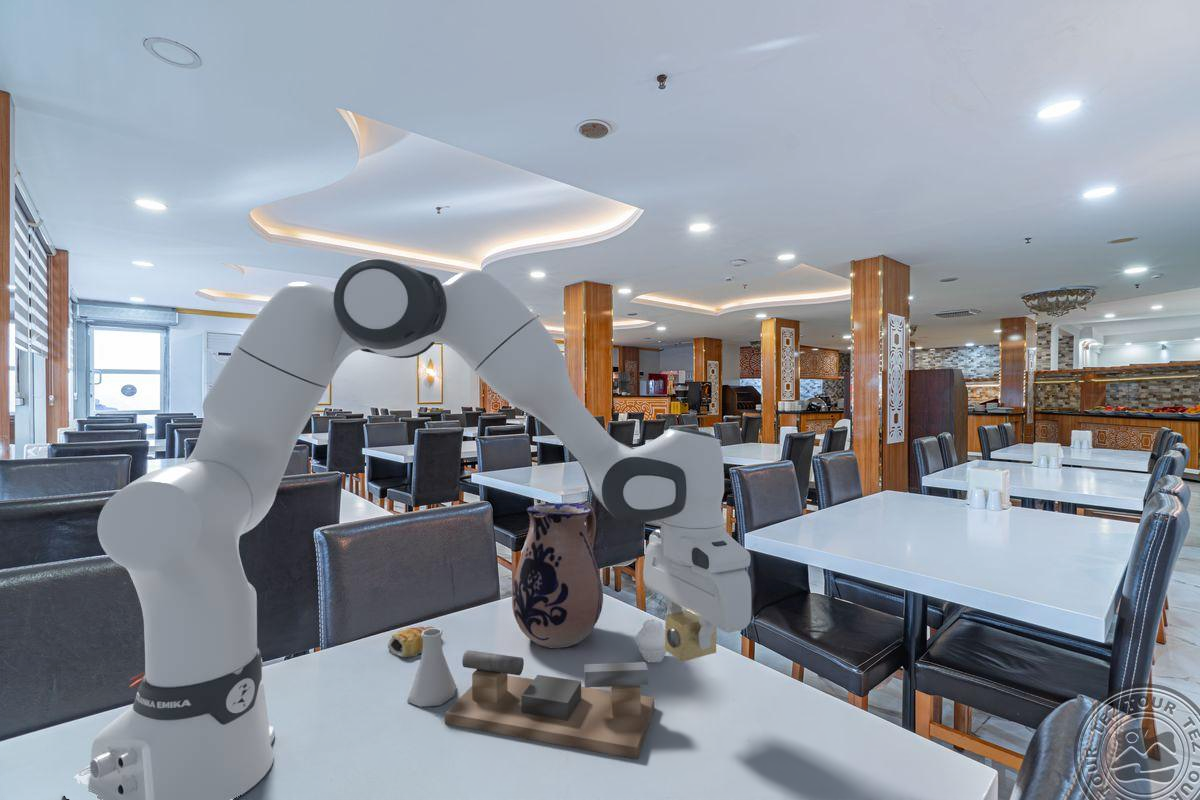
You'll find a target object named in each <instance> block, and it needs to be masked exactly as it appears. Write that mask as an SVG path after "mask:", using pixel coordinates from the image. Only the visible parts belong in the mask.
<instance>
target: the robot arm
mask: <svg viewBox="0 0 1200 800" xmlns="http://www.w3.org/2000/svg"><path fill="white" fill-rule="evenodd" d="M435 343H439V344H443V345H446V346H448V347H449V348H451V349H452V350H453V351H455V352H456V353H457V354H458V355H459V356H460V357H461V358H462V359H463V361H464V362H465V363H467V365H468V366H469V367H470V368H471V369H472V370H473V372H474V373H475V374H476V375H477V376H478V377H479V378H480V380H482V381H483V383H485V384H486V386H488V388H490V389H491V390H492V391H494V392H495V393H496V394H497V395H498V396H500V397H501V398H502V399H504V400H505V401H506V402H507V403H509V404H510V405H512V406H513V407H515V408H516V409H519V410H521V411H522V412H525V413H527V414H529V415H531V416H532V417H534V418H535V419H537V420H539V421H540V422H541V423H542V424H543V425H544V426H545V427H547V429H549V430H550V432H552V433H553V434H554V435H555V436H556V438H557V439H558V440H559V441H560V442H561V443H562V444H563V445H564V446H565V448H566V449H567V450H568V451H569V452H570V454H572V456H573V457H574V458H575V459H576V460H577V462H578V463H579V465H580V466H581V467H582V470H583V473H584V477H585V480H586V483H587V486H588V488H589V491H590V492H591V494H592V496H593V498H595V499H596V500H597V501H598V502H599V503H600V504H601V505H602V506H603V507H604V508H605V509H606V510H607V512H609V514H611V516H613V517H614V518H615V519H617V520H619V521H621V522H623V523H627V524H641V523H649V522H654V521H659V520H660V528H656V529H654V531H652V532H651V534H650V535H649V537H648V544H647V545H646V549H645V554H644V560H643V561H644V562H643V572H642V573H643V574H642V577H643V578H642V579H643V582H644V586H645V587H646V588H647V589H648V590H650V591H651V592H654V593H655V594H657V595H659V596H660V597H662V598H664V599H665V601H666V603H665V605H666V608H667V611H668V614H672V613H677V612H682V611H683V609H684V610H685V611H686V610H687V611H689V612H691V613H693V614H694V615H696V616H698V617H699V623H700V624H701V625H702V627H701V630H700V632H697V633H695V644H696V645H697V646H699V647H700V648H702V649H706V648H709V647H710V646H711V635H712V634H713V632H714V630H715V629H716V627H717V629H719V630H721V631H723V632H724V633H728V634H730V633H734V632H738V631H742V630H745V629H746V628H747V627H748V626H749V624H750V623H751V619H752V586H751V585H752V584H751V579H750V576H749V573H748V572H747V571H746V569H745V568H748V567H750V565H751V553H750V551H749V550H747V549H746V548H745V547H744V546H743V545H741V543H739V542H737V541H736V540H735V539H734V538H733V537H732V536H731V535H730V533H728V532H727V531H726V530H724V526H725V525H724V524H725V523H724V521H725V520H724V515H723V513H722V501H723V498H724V494H725V472H724V471H725V467H724V458H723V457H724V455H723V452H722V451H723V450H722V445H721V443H720V440H719V439H718V438H717V437H716V436H715V435H713V434H712V433H709V432H706V431H700V430H695V429H689V428H686V427H685V428H684V427H679V426H678V427H677V426H673V427H670V428H668V429H667V430H666V431H664V433H662V434H661V435H660V436H657V438H654V439H653V440H651V441H649V442H647V443H645V444H643V445H641V446H638V447H635V448H634V447H632V446H630V445H628V444H626V443H622V442H620V441H618V440H617V439H615V438H614V437H612V436H611V435H610V434H609V433H608V432H607V431H606V429H605V428H604V427H603V426H602V425H601V423H600V422H598V420H597V419H596V417H595V416H594V415H592V413H591V412H590V411H589V410H588V409H587V408H586V406H585V405H584V404H583V402H582V401H581V400H580V398H579V397H578V395H577V394H576V392H575V390H574V388H573V384H572V382H571V379H570V375H569V370H568V369H569V368H568V364H567V360H566V358H565V356H564V354H563V352H562V351H561V348H560V347H559V345H558V344H557V342H556V341H555V339H554V338H553V336H552V335H551V333H550V332H549V331H548V329H547V328H546V327H545V326H544V324H543V323H542V322H541V321H540V320H539V319H538V318H537V317H536V315H535V314H534V313H533V312H532V311H531V310H530V308H529V307H527V305H525V303H523V301H521V299H520V298H518V296H516V295H515V294H514V293H513V292H512V291H511V290H509V288H507V287H506V286H505V285H503V284H502V283H501V282H500V281H498V280H497V279H495V278H494V277H493V276H492V275H490V274H489V273H487V272H486V271H483V270H479V269H470V270H466V271H465V270H464V271H462V272H459V273H458V274H456V275H454V276H452V277H450V278H449V279H448V280H447V281H446V282H444V283H441V281H440V279H439V278H438V277H436V276H435V275H433V274H430V273H428V272H425V271H422V270H419V269H416V268H414V267H411V266H409V265H406V264H404V263H400V262H397V261H393V260H390V259H384V258H372V259H370V258H369V259H365V260H362V261H359V262H356V263H355V264H353V265H351V266H350V267H347V269H346V270H345V271H344V272H343V273H342V274H341V276H339V278H338V280H337V282H336V284H335V288H334V291H333V290H331V289H329V288H327V287H325V286H322V285H319V284H317V283H313V282H307V281H294V282H290V283H287V284H285V285H284V286H282V287H281V288H279V290H278V291H277V292H276V293H275V294H274V295H273V296H272V297H271V298H270V299H269V300H268V301H267V303H265V305H264V306H263V307H262V308H261V309H260V310H259V312H258V313H257V314H256V316H255V317H254V319H252V321H251V323H250V324H249V325H248V326H247V328H246V330H245V331H244V332H243V333H242V335H241V337H240V339H239V340H238V342H237V343H236V346H235V347H234V348H233V350H232V352H231V353H230V355H229V357H228V359H227V360H226V361H225V364H224V365H223V367H222V369H221V370H220V371H219V374H218V375H217V376H216V379H215V380H214V382H213V384H211V385H212V386H211V387H210V388H209V390H208V392H207V394H206V395H205V397H204V399H203V401H202V407H201V408H202V412H203V419H202V425H201V428H200V432H199V435H198V438H197V441H196V443H195V447H194V448H193V451H192V452H191V453H190V455H189V456H188V457H187V458H186V460H185V461H183V462H182V463H181V464H178V465H177V464H176V465H173V466H169V467H163V468H159V469H156V470H153V471H150V472H148V473H146V474H144V475H142V476H140V477H138V478H137V479H135V480H133V481H132V482H130V483H129V484H127V485H126V486H124V487H123V488H122V489H119V490H118V491H117V492H115V493H114V494H113V495H112V496H111V497H110V498H109V499H108V500H107V501H106V503H105V504H104V505H103V507H102V509H101V511H100V514H99V516H98V520H97V524H96V525H97V529H96V530H97V537H98V541H99V543H100V546H101V548H102V549H103V551H104V553H105V554H106V555H107V556H108V557H109V558H110V559H111V560H112V561H113V562H115V563H116V564H118V565H119V566H121V567H123V568H125V569H126V570H127V572H128V574H129V576H130V578H131V581H132V582H133V586H134V588H135V590H136V594H137V596H138V600H139V603H140V606H141V607H140V608H141V612H142V616H143V617H142V618H143V630H144V631H143V634H144V635H143V636H144V637H143V638H144V664H145V665H144V667H145V669H144V672H142V673H140V674H138V675H135V676H133V677H130V678H129V681H134V680H135V682H133V683H132V684H129V688H131V689H132V688H135V687H136V686H137V687H138V688H137V691H136V695H135V698H134V702H133V704H132V705H131V706H130V707H128V708H127V709H126V710H125V711H124V712H122V713H121V714H120V715H119V716H118V717H116V718H115V719H114V720H112V721H111V722H110V723H109V724H107V725H106V726H104V727H103V729H102V730H101V731H100V732H98V734H97V735H96V736H95V738H94V741H93V743H92V746H91V751H90V752H91V754H90V762H89V763H90V764H88V766H86V767H84V768H83V769H82V770H80V771H79V772H78V773H76V775H74V776H73V777H74V778H76V779H77V781H78V782H77V783H79V784H80V781H81V783H83V784H86V785H87V787H88V789H89V790H88V791H89V792H92V793H94V794H96V795H98V796H97V798H98V799H100V800H102V799H103V800H230V799H233V798H235V797H237V798H239V797H240V795H241V796H242V795H243V794H245V793H247V792H248V791H250V790H251V789H252V788H254V786H256V785H257V784H258V783H259V782H260V781H261V780H263V778H264V777H265V776H266V774H267V773H268V771H269V770H271V767H272V764H273V763H274V751H273V748H272V743H273V741H274V739H275V736H276V733H275V728H274V726H272V725H269V724H270V723H269V717H268V707H267V700H266V694H265V692H266V691H265V686H264V683H263V682H262V678H263V675H262V674H263V672H262V671H263V668H262V667H263V658H262V652H261V649H260V648H259V647H258V616H257V615H258V613H257V612H258V609H257V608H258V600H257V591H256V588H255V587H254V586H253V585H252V584H251V582H249V580H248V578H247V576H246V574H245V569H244V567H243V564H242V559H241V556H240V549H239V545H240V538H241V536H242V535H243V534H246V533H248V532H249V531H252V530H253V529H254V528H255V527H257V526H258V525H259V524H260V523H261V522H262V521H263V519H264V518H265V517H266V515H267V514H268V513H269V512H270V509H271V507H272V506H273V505H274V502H275V499H276V497H277V492H278V489H279V487H280V484H282V483H281V482H282V480H283V478H284V475H285V472H286V471H287V467H288V464H289V462H290V458H291V457H292V454H293V451H294V449H295V447H296V444H297V442H298V440H299V438H300V436H301V434H303V433H302V432H303V431H304V430H305V427H306V426H307V423H308V421H309V420H310V419H311V417H312V415H313V413H314V412H315V410H316V408H317V406H318V404H319V402H320V401H321V399H322V397H323V396H324V394H325V392H326V390H327V389H328V386H329V385H330V384H331V383H332V381H333V378H334V376H335V374H336V373H337V371H338V370H339V368H340V366H341V364H343V362H344V361H345V360H346V359H347V357H348V356H350V355H351V354H352V353H354V352H356V351H362V352H364V353H369V354H376V355H381V356H386V357H390V358H395V359H409V358H415V357H417V356H420V355H421V354H424V353H426V352H427V351H428V350H430V349H431V348H432V347H433V346H434V344H435ZM136 679H137V680H136ZM86 771H91V772H90V773H89V774H86V775H84V774H83V773H84V772H86ZM80 773H82V775H84V776H79V774H80ZM79 780H80V781H79ZM84 786H85V785H84ZM90 790H91V791H90ZM238 796H239V797H238Z"/></svg>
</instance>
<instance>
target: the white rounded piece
mask: <svg viewBox="0 0 1200 800" xmlns="http://www.w3.org/2000/svg"><path fill="white" fill-rule="evenodd" d="M642 624H643V625H642V628H641V629H640V630H638V632H637V633H636V636H635V642H636V644H637V648H638V650H639V652H640V653H641V655H642V657H643V659H644V660H645V661H646V660H647V661H649V662H648V663H651V662H657V663H660V662H662V661H663V660H664V658H665V655H666V653H668V652H667V651H666V650H665V627H664V626H663V623H662V622H661V621H660V620H659V619H656V618H653V619H651V618H650V619H647V620H645V621H644V623H642ZM647 661H646V662H647ZM659 661H660V662H659Z"/></svg>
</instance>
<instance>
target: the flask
mask: <svg viewBox="0 0 1200 800" xmlns="http://www.w3.org/2000/svg"><path fill="white" fill-rule="evenodd" d="M443 632H444V630H443V628H439V627H434V628H428V629H426V630H424V631H423V632H422V634H421V638H423V651H422V653H421V656H420V662H419V665H418V668H417V671H416V674H415V677H414V680H413V683H412V687H411V689H410V691H409V695H408V698H407V702H408V703H411V705H416V706H418V707H422V708H423V707H424V708H425V707H434V706H436V707H437V706H441V705H443V704H444V703H446V702H448V701H449V700H451V699H452V698H453V697H455V694H456V690H457V683H456V681H455V679H454V677H453V674H452V672H451V670H450V667H449V665H448V662H447V660H446V658H445V654H444V651H443V645H442V636H443Z"/></svg>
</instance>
